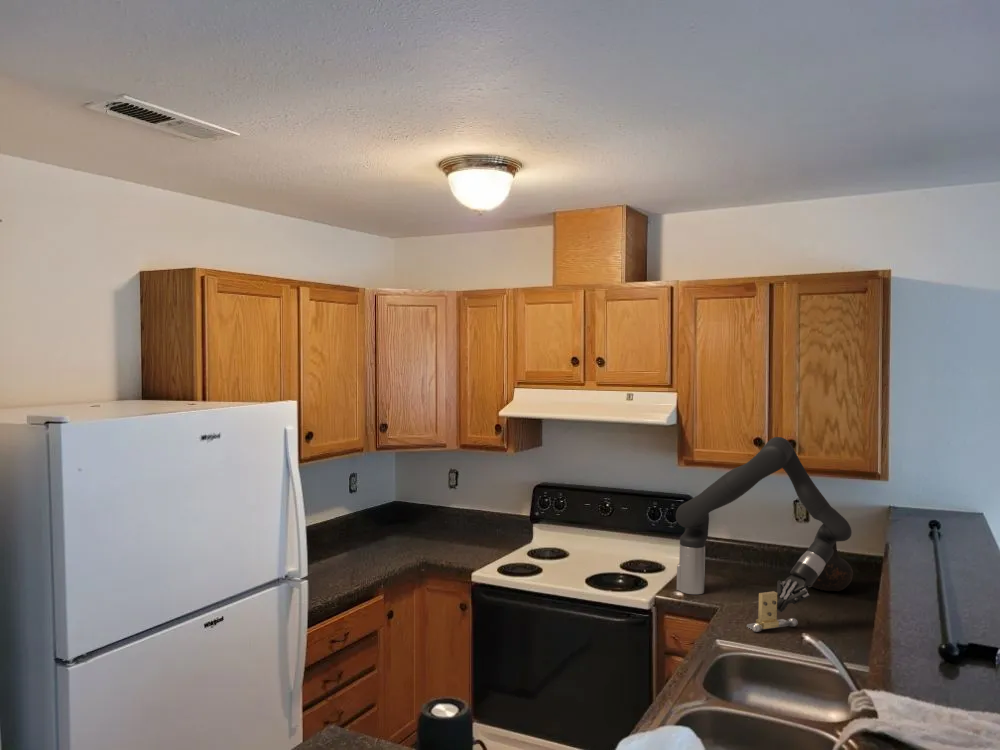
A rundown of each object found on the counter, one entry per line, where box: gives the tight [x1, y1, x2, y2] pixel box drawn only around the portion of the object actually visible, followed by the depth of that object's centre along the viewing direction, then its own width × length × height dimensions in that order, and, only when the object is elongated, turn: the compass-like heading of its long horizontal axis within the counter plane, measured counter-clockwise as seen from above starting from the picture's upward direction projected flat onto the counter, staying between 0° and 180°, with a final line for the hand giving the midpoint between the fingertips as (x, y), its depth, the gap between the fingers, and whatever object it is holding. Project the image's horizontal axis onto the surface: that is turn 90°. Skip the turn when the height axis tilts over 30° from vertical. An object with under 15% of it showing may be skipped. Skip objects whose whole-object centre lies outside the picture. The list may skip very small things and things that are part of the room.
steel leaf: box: [746, 617, 799, 633], centre depth 241 cm, size 17×6×3 cm, turn 112°
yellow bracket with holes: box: [755, 590, 780, 630], centre depth 239 cm, size 6×4×11 cm, turn 112°
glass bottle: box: [811, 542, 854, 592], centre depth 285 cm, size 18×18×28 cm
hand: (777, 609), depth 240 cm, fingers closed
